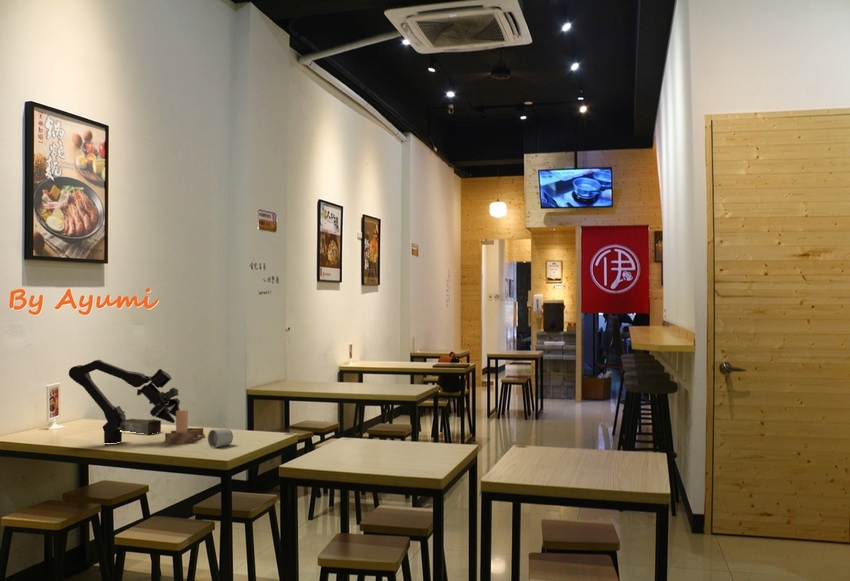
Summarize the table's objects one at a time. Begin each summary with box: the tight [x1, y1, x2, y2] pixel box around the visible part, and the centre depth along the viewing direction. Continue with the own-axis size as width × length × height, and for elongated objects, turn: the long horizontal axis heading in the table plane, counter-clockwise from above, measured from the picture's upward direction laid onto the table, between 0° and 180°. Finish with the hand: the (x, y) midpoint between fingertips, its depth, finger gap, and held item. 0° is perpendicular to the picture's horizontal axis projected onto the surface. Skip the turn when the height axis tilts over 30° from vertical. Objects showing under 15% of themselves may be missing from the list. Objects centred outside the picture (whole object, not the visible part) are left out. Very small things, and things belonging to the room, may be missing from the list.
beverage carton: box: [120, 418, 162, 435], centre depth 329 cm, size 8×19×7 cm, turn 66°
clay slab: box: [175, 409, 189, 433], centre depth 305 cm, size 4×3×12 cm
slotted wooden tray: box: [163, 427, 206, 445], centre depth 308 cm, size 12×16×4 cm
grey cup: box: [207, 428, 234, 449], centre depth 295 cm, size 11×8×8 cm
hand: (178, 420), depth 305 cm, fingers open, 9 cm apart
